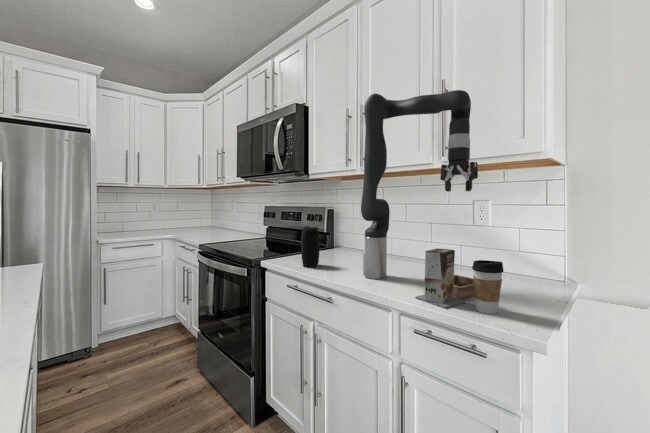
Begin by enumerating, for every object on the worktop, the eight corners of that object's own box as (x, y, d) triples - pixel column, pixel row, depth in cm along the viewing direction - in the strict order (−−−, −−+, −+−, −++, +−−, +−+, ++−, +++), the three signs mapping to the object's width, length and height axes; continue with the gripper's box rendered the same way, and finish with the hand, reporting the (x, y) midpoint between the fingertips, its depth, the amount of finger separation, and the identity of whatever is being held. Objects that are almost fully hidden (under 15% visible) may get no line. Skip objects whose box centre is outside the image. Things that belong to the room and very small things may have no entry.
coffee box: (443, 304, 102) (444, 253, 101) (423, 299, 106) (424, 251, 105) (454, 297, 109) (455, 249, 108) (435, 293, 113) (436, 247, 112)
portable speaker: (321, 264, 164) (321, 226, 163) (314, 268, 156) (314, 227, 154) (306, 263, 167) (306, 225, 166) (298, 267, 159) (298, 227, 157)
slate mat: (415, 298, 110) (415, 296, 110) (435, 293, 115) (435, 291, 115) (445, 308, 99) (445, 306, 99) (465, 303, 105) (465, 301, 105)
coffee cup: (493, 317, 92) (495, 265, 91) (465, 309, 99) (466, 260, 98) (507, 311, 97) (509, 261, 96) (480, 304, 104) (481, 257, 103)
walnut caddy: (430, 290, 118) (430, 279, 118) (456, 284, 126) (456, 274, 125) (460, 299, 108) (460, 288, 107) (486, 293, 115) (486, 281, 115)
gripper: (436, 149, 125) (435, 191, 126) (470, 144, 113) (468, 191, 114) (449, 150, 129) (448, 191, 130) (482, 145, 116) (481, 191, 117)
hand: (458, 191), depth 122 cm, fingers open, 8 cm apart
